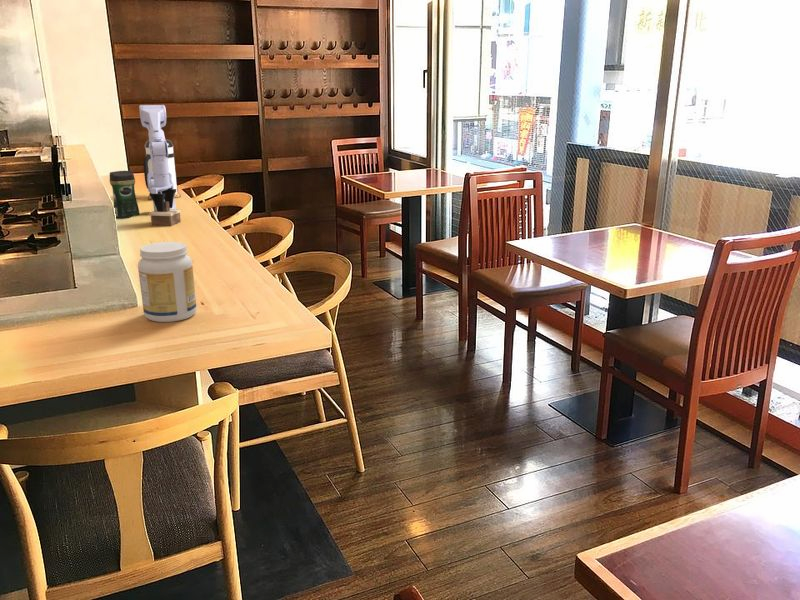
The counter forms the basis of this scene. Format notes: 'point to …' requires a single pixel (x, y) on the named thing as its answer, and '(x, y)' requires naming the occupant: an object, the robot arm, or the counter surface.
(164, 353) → the counter surface
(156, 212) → the lid
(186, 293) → the supplement tub
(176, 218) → the box
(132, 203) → the coffee jar
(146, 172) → the coffee press
